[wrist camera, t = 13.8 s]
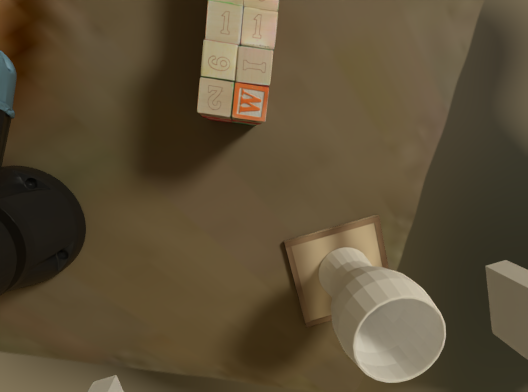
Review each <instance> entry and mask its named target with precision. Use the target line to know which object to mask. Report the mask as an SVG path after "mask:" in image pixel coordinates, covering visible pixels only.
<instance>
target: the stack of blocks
mask: <svg viewBox="0 0 528 392" xmlns="http://www.w3.org/2000/svg"><path fill="white" fill-rule="evenodd" d="M207 2H208V5H207V17H206V31H205V39H204V40H203V50H202V63H201V77H200V82H199V93H198V104H197V112H198V113H199V114H201V116H202V117H204V118H207V119H209V120H215V121H222V122H230V123H240V124H246V125H253V126H256V125H258V124H262V122H265V119H266V111H267V102H268V94H269V86H270V80H271V70H272V60H273V51H274V48H275V41H276V31H277V21H278V7H279V0H207Z"/></svg>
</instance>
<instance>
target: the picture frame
mask: <svg viewBox="0 0 528 392" xmlns="http://www.w3.org/2000/svg"><path fill="white" fill-rule="evenodd" d="M284 244H285V248H286V252H287V256H288V259H289V263H290V267H291V271H292V275H293V278H294V282H295V286H296V290H297V294H298V298H299V301H300V305H301V309H302V313H303V317H304V321H305V324H306V327H310V326H313V325H317V324H320V323H324V322H327V321H330V320H332V315H331V302H332V297H331V296H330V295H329V294H328V293H327V292H326V291H325V289H324V288H323V287H322V285H321V283H320V281H319V275H318V274H319V268H320V265H321V263H322V261H323V260H324V258H325V257H326V256H327V255H328V254H329V253H331V252H332V251H334V250H336V249H339V248H343V247H350V248H354V249H357V250H359V251H360V252H362V253H363V254H364V255H365V256H366V258H367V259H368V260H369V261H370V263H371V265H372V266H377V267H383V268H387V269H389V268H388V262H387V257H386V251H385V246H384V240H383V235H382V229H381V224H380V218H379V216H378V215H374V216H371V217H367V218H363V219H360V220H356V221H353V222H349V223H346V224H342V225H339V226H335V227H332V228H328V229H325V230H321V231H318V232H314V233H311V234H307V235H303V236H300V237H296V238H293V239H289V240H286V241H284Z"/></svg>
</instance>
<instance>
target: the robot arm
mask: <svg viewBox="0 0 528 392" xmlns="http://www.w3.org/2000/svg"><path fill="white" fill-rule="evenodd" d="M15 85H16V70H15V68H14V65H13V64H12V62H11V61H10V59H9V58H8V57H7V56H6V55H5V54H4V53H3V52H2V51H1V50H0V295H1V294H3V293H4V292H7V291H10V290H14V289H18V288H22V287H26V286H30V285H33V284H37V283H40V282H43V281H45V280H47V279H50V278H52V277H53V276H55V275H56V274H58V273H59V272H61V271H62V270H63V269H65V268H66V267H67V266H68V265H70V264H71V263H72V262H73V261H74V259H75V258H76V257H77V256H78V254H79V252H80V250H81V248H82V246H83V243H84V239H85V233H86V225H85V218H84V214H83V211H82V209H81V206H80V204H79V202H78V201H77V199H76V198H75V196H74V195H73V193H72V192H71V191H70V190H69V189H68V188H67V187H66V186H65V185H64V184H63V183H62V182H60V181H59V180H58V179H56V178H55V177H53V176H51V175H49V174H47V173H45V172H43V171H40V170H37V169H34V168H30V167H24V166H5V167H1V166H2V162H3V157H4V152H5V147H6V142H7V137H8V133H9V128H10V123H11V118H14V116H15V113H14V111H13V109H12V107H13V100H14V92H15ZM486 276H487V286H488V295H489V305H490V314H491V324H492V333H493V334H495V335H496V336H497V337H499V338H500V339H501V340H503V341H504V342H505V343H506V344H508V345H509V346H511V347H512V348H513V349H515V350H516V351H517V352H518V353H520V354H521V355H522V356H524V357H525V358H526V359H527V360H528V270H527V269H524V268H522V267H520V266H518V265H516V264H513V263H511V262H509V261H507V260H505V261H501V262H498V263H494V264H491V265H487V266H486ZM88 392H124V391H123V389H122V387H121V385H120V383H119V381H118V378H117V376H116V375H114V376H111V377H108V378H105V379H101V380H97V381H94V382H93V383H92V385H91V387H90V388H89V390H88Z"/></svg>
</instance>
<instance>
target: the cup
mask: <svg viewBox="0 0 528 392" xmlns="http://www.w3.org/2000/svg"><path fill="white" fill-rule="evenodd" d="M318 275H319V281H320V283H321V285H322V287H323V288H324V289H325V291H326V292H327V293H328V294H329V295H330V296H331V297H332V302H331V315H332V324H333V330H334V332H335V334H336V336H337V338H338V340H339V342H340V344H341V346H342V348H343V350H344V352H345V353H346V354H347V355H348V356H349V357H350V358H351V359H352V360H353V361H354V362H355V364H356V365H357V366H358V367H359V368H360V369H361V370H362V371H363V372H364V373H365V374H366V375H368V376H370V377H371V378H373V379H375V380H378V381H382V382H387V383H389V382H392V383H393V382H402V381H406V380H410V379H412V378H414V377H416V376H418V375H420V374H422V373H423V372H424V371H426V370H427V369H428V368H430V367H431V365H432V364H433V363H434V362H435V361H436V360H437V358H438V357H439V355H440V353H441V351H442V349H443V347H444V342H445V338H446V327H445V322H444V319H443V317H442V314H441V313H440V311H439V310H438V308H437V307H436V305H435V304H434V303H433V302H432V300H431V298H430V297H429V296H428V295H427V293H426V292H425V291H424V289H423V288H421V287H420V286H419V285H418V284H416V283H415V282H414V281H412V280H411V279H410V278H408V277H407V276H405V275H404V274H402V273H399V272H396V271H393V270H390V269H387V268H383V267H377V266H372V265H371V263H370V261H369V260H368V259H367V258H366V256H365V255H364V254H363V253H362V252H360V251H359V250H357V249H354V248H350V247H343V248H339V249H336V250H334V251H332V252H331V253H329V254H328V255H327V256H326V257H325V258H324V260H323V261H322V263H321V265H320V268H319V274H318Z"/></svg>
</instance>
